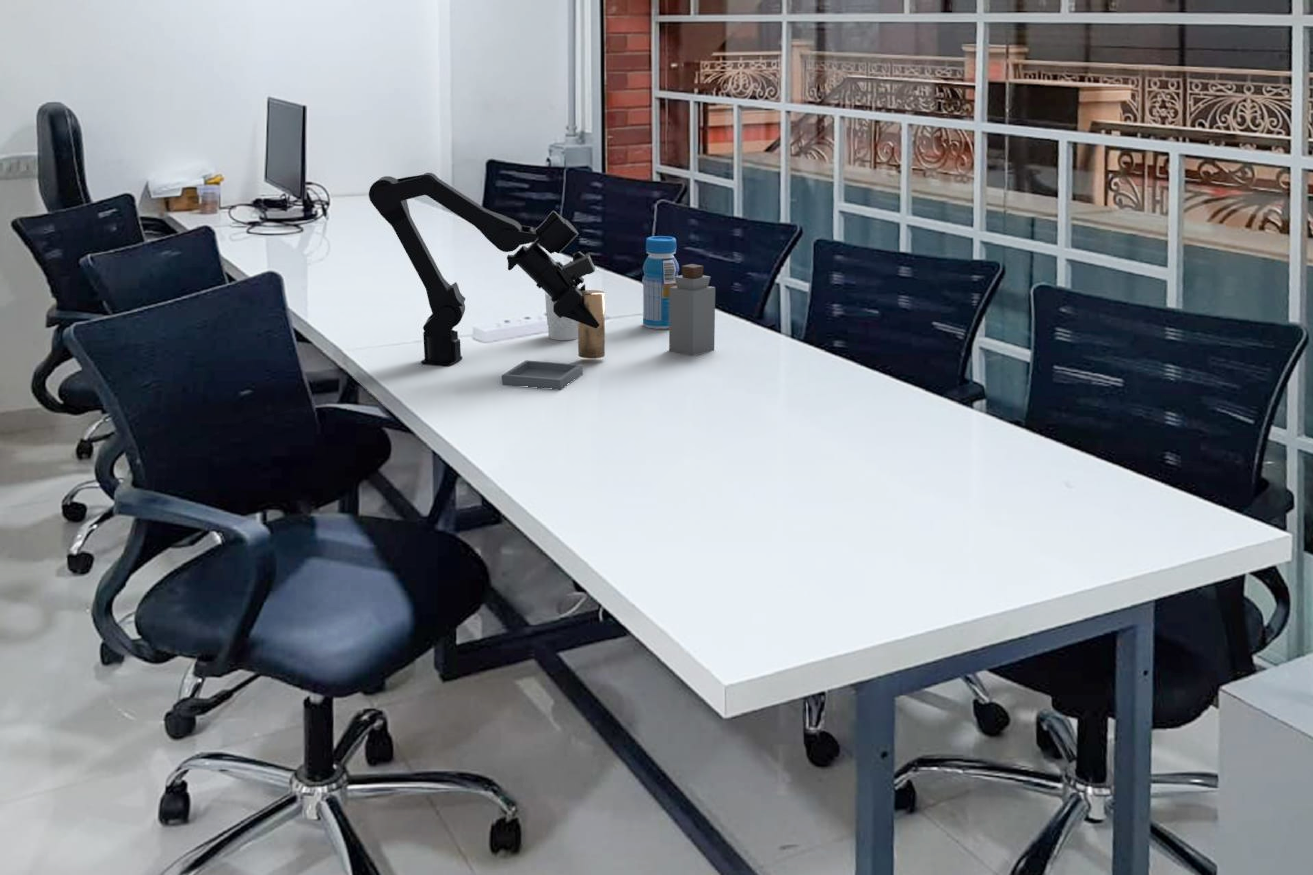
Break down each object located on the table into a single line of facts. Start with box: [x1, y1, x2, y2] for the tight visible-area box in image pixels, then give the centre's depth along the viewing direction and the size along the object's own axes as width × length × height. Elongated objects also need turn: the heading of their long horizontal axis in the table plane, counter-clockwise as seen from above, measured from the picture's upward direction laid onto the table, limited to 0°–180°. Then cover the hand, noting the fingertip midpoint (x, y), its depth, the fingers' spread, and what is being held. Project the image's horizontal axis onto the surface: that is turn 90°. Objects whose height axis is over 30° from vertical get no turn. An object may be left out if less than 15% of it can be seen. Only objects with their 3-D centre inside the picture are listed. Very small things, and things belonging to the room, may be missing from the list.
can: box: [577, 289, 606, 359], centre depth 281 cm, size 5×5×13 cm
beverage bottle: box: [641, 235, 680, 330], centre depth 311 cm, size 8×8×20 cm
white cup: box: [544, 291, 578, 341], centre depth 302 cm, size 8×8×10 cm
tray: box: [501, 359, 584, 391], centre depth 269 cm, size 12×12×2 cm
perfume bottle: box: [668, 263, 716, 357], centre depth 290 cm, size 7×7×18 cm
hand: (598, 323), depth 281 cm, fingers closed on can, 5 cm apart
